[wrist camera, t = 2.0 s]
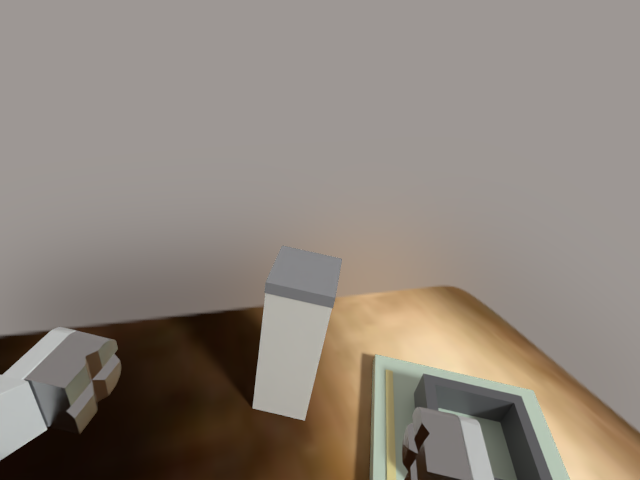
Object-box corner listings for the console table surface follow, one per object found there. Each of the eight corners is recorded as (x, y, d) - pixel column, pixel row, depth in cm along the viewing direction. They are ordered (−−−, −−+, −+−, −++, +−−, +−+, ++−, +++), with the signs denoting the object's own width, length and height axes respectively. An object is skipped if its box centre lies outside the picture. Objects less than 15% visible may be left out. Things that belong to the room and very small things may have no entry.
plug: (251, 408, 27) (265, 282, 21) (268, 360, 31) (284, 241, 25) (305, 421, 27) (335, 297, 21) (314, 370, 31) (342, 254, 25)
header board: (367, 552, 21) (382, 525, 19) (372, 361, 33) (382, 334, 31) (612, 614, 21) (652, 592, 19) (528, 397, 33) (547, 371, 31)
